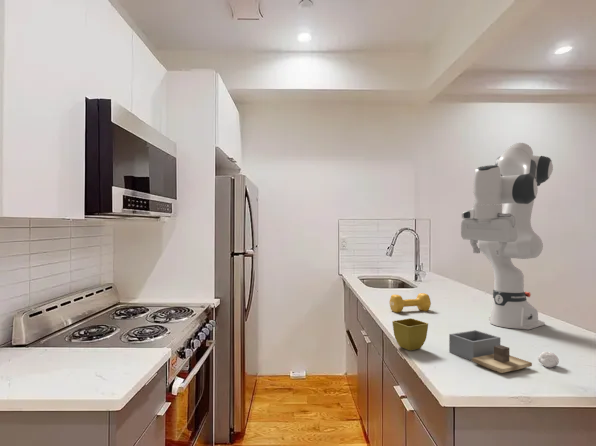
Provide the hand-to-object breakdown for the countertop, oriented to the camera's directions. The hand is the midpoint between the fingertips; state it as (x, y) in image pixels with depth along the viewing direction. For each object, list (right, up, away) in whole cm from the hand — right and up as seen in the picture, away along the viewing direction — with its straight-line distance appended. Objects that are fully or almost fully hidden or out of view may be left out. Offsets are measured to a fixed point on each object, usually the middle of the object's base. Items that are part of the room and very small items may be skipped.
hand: (487, 254), depth 143 cm
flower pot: (-26, -33, +2) cm, 42 cm away
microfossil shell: (+11, -33, -15) cm, 38 cm away
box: (-6, -33, -4) cm, 33 cm away
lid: (-3, -33, -16) cm, 37 cm away
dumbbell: (-10, -32, +60) cm, 69 cm away
